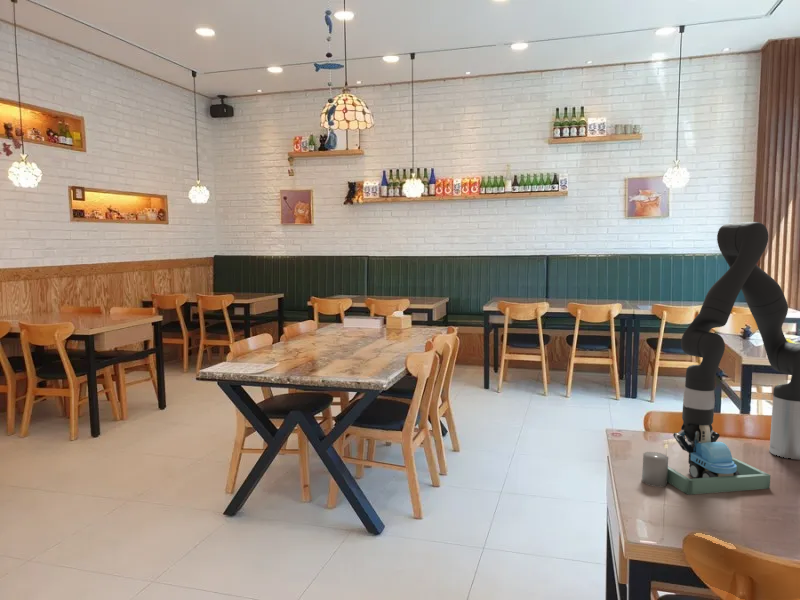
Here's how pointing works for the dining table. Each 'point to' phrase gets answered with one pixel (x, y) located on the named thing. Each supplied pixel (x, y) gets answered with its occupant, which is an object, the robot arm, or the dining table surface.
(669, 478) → the bay
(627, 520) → the dining table surface
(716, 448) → the toy excavator
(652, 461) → the grey upright cylinder
